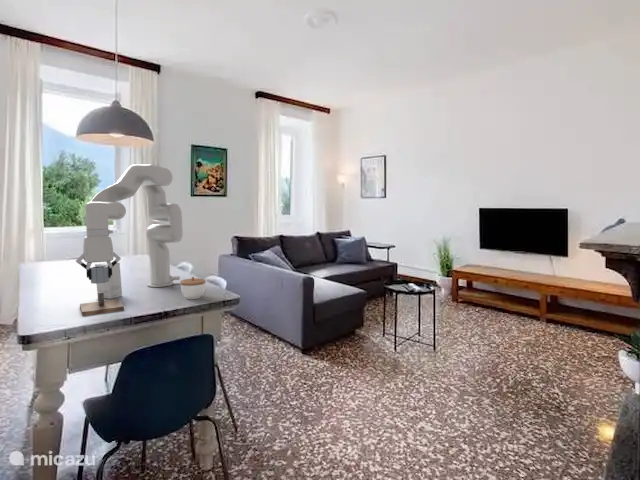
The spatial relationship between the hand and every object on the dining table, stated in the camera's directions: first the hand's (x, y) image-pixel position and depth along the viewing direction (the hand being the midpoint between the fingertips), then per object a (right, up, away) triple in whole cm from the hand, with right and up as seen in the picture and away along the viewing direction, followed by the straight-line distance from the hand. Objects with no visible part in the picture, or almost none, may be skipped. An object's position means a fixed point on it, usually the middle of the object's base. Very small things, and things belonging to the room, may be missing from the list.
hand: (99, 278), depth 150 cm
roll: (0, -2, 0) cm, 2 cm away
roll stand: (0, -12, +1) cm, 13 cm away
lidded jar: (+30, -11, +21) cm, 38 cm away
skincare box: (-8, -11, +20) cm, 24 cm away
